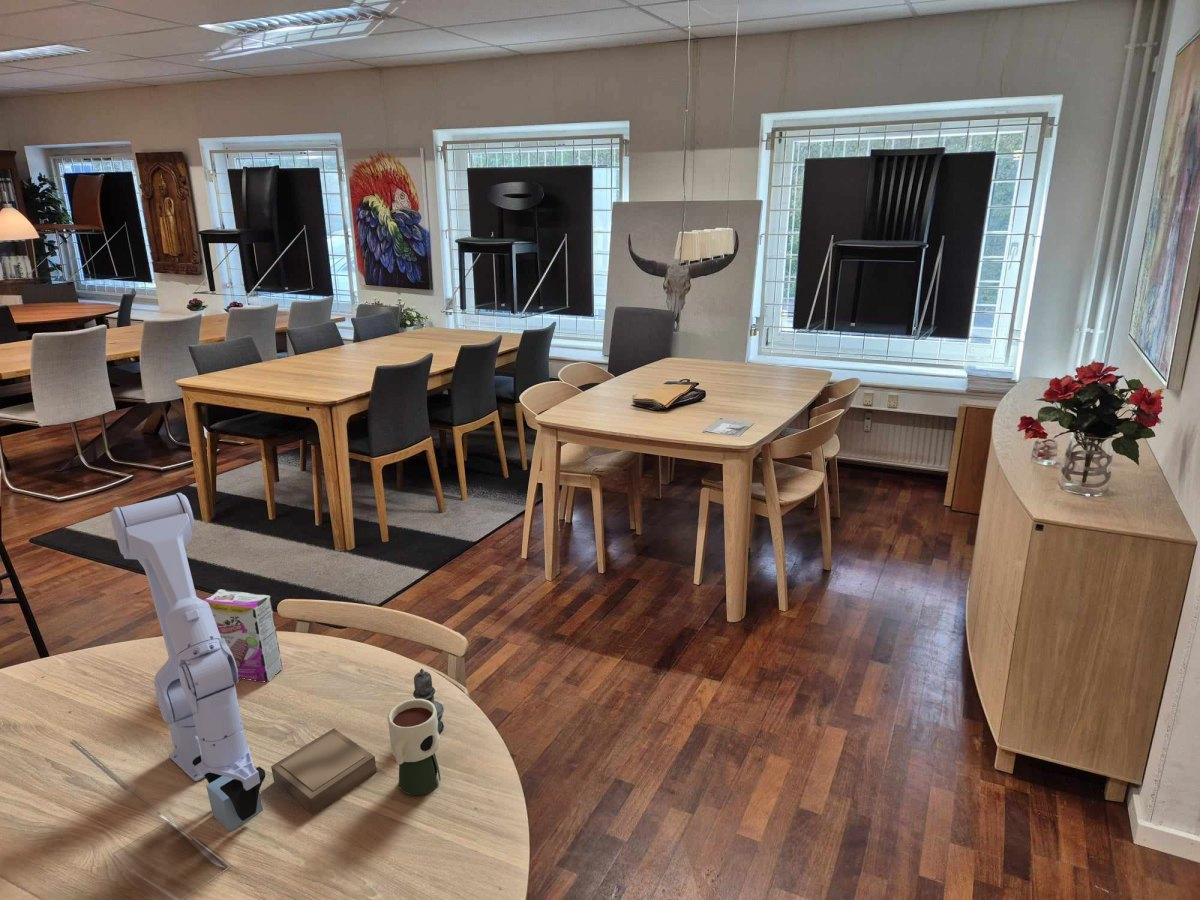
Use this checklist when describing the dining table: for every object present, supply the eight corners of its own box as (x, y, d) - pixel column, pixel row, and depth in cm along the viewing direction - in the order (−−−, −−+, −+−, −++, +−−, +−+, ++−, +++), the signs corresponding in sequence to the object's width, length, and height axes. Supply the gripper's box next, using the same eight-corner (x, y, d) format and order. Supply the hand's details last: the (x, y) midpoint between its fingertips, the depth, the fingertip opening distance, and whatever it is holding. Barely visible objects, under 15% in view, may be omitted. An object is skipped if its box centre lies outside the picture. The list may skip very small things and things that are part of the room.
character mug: (426, 814, 110) (418, 740, 106) (382, 807, 111) (372, 734, 107) (455, 762, 120) (449, 693, 116) (414, 756, 121) (406, 688, 117)
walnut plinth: (273, 782, 116) (270, 765, 115) (336, 743, 125) (333, 727, 124) (313, 815, 110) (310, 798, 109) (376, 771, 118) (374, 755, 117)
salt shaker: (437, 742, 124) (430, 681, 120) (404, 738, 125) (396, 677, 122) (451, 719, 130) (445, 660, 126) (419, 716, 131) (412, 656, 127)
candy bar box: (216, 677, 143) (200, 601, 137) (234, 662, 147) (219, 588, 142) (267, 684, 140) (253, 607, 135) (284, 669, 145) (271, 593, 140)
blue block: (213, 815, 110) (206, 785, 109) (245, 795, 114) (239, 765, 112) (229, 832, 107) (223, 801, 106) (263, 810, 111) (257, 780, 109)
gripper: (167, 722, 107) (185, 798, 112) (216, 766, 99) (234, 846, 103) (216, 697, 112) (232, 771, 117) (267, 737, 104) (282, 815, 108)
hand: (236, 804), depth 110 cm, fingers open, 6 cm apart
